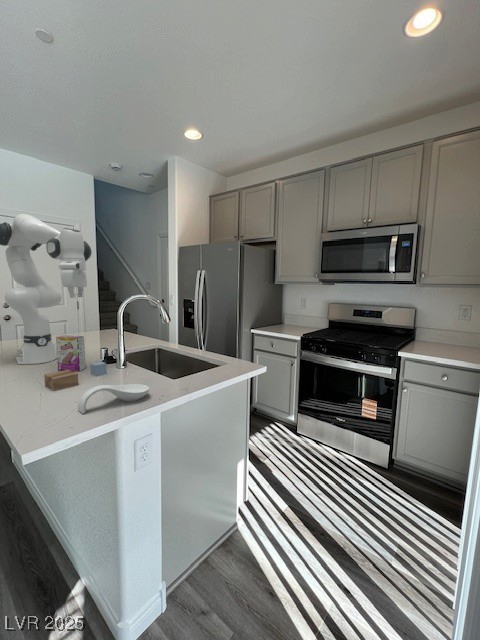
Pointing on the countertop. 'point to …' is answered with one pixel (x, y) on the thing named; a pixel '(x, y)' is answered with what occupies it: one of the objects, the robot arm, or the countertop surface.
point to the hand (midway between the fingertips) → (76, 297)
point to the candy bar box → (70, 352)
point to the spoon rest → (115, 393)
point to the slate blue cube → (98, 368)
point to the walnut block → (61, 380)
